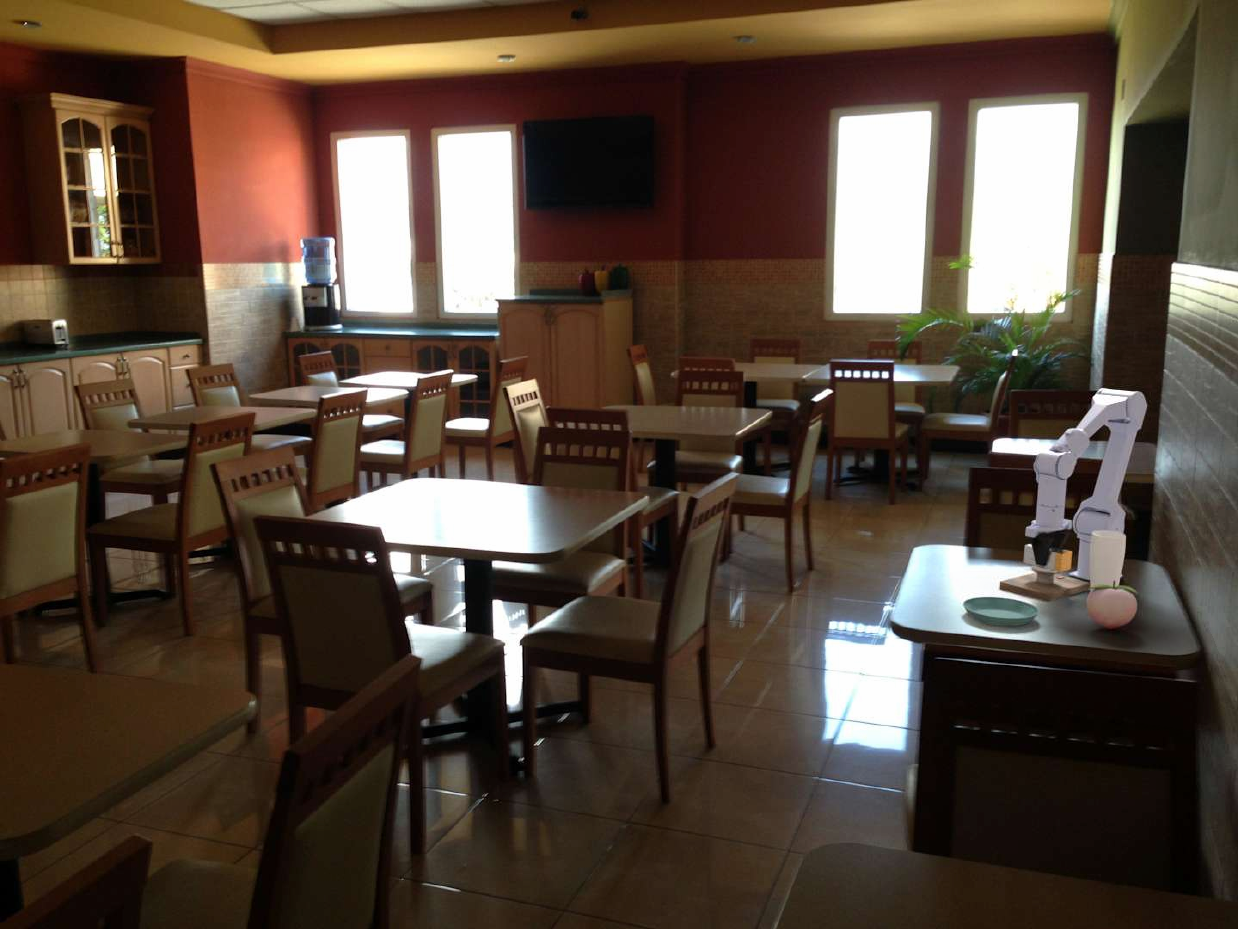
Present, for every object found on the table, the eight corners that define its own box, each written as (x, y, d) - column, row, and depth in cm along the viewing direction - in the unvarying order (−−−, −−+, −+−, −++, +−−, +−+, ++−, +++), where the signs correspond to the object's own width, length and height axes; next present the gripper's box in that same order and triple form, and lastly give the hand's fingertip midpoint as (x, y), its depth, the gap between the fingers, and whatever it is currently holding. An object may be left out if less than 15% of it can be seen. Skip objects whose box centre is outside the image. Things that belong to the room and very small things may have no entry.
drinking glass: (1080, 601, 224) (1086, 533, 221) (1092, 594, 229) (1098, 528, 226) (1113, 608, 219) (1119, 539, 216) (1124, 601, 224) (1131, 534, 221)
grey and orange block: (1035, 564, 237) (1037, 542, 236) (1073, 573, 230) (1075, 550, 229) (1020, 568, 234) (1021, 545, 233) (1057, 577, 226) (1059, 554, 226)
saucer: (1041, 614, 216) (1042, 601, 216) (1035, 635, 203) (1035, 622, 202) (967, 604, 222) (968, 592, 222) (957, 624, 209) (957, 611, 209)
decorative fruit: (1095, 636, 202) (1099, 586, 200) (1078, 622, 210) (1082, 575, 208) (1144, 637, 201) (1149, 587, 199) (1126, 623, 209) (1130, 575, 208)
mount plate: (1041, 576, 242) (1042, 560, 241) (1089, 589, 232) (1090, 572, 232) (999, 588, 233) (1000, 570, 233) (1047, 601, 223) (1048, 583, 223)
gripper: (1053, 497, 237) (1049, 555, 239) (1015, 505, 229) (1010, 564, 231) (1082, 503, 231) (1077, 561, 233) (1043, 511, 223) (1039, 571, 225)
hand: (1046, 563), depth 232 cm, fingers closed on grey and orange block, 4 cm apart
